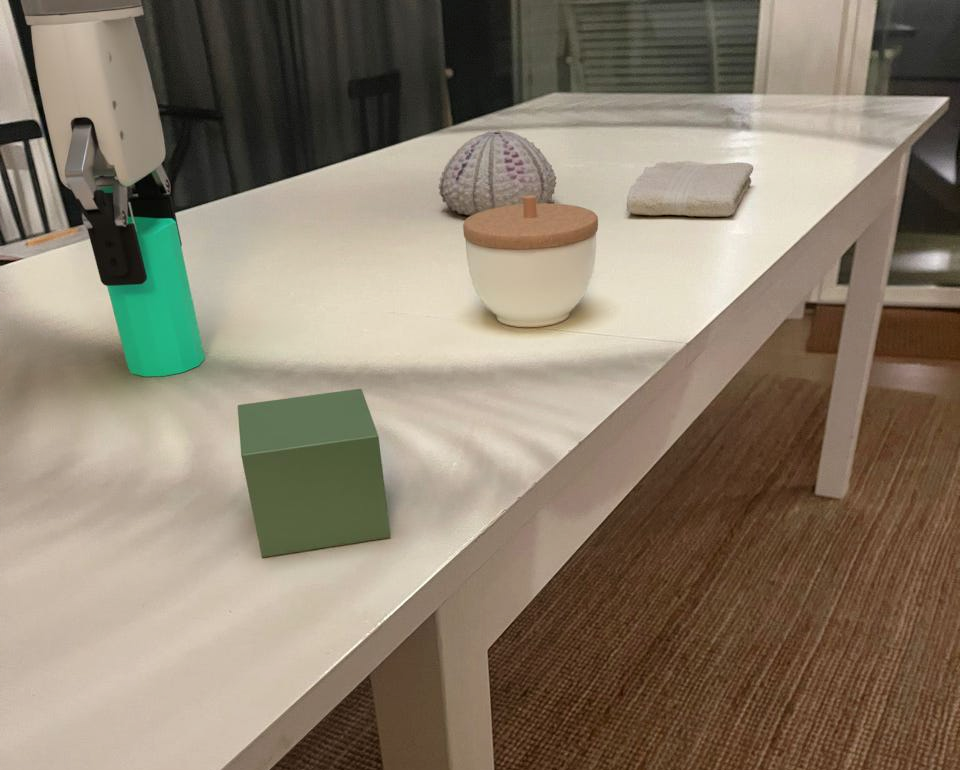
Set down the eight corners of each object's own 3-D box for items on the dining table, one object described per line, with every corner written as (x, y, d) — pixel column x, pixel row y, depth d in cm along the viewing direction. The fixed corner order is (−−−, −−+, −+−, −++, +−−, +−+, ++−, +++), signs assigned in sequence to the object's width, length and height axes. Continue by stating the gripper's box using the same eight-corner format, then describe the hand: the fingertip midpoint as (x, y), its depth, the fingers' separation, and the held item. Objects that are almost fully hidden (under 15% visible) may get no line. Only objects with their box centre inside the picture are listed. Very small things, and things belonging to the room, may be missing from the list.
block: (261, 558, 55) (240, 455, 52) (256, 500, 61) (237, 404, 58) (390, 538, 56) (378, 435, 53) (373, 483, 62) (361, 387, 59)
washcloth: (753, 184, 123) (755, 155, 121) (736, 221, 109) (739, 189, 107) (653, 183, 126) (654, 156, 124) (624, 219, 112) (625, 188, 110)
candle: (115, 364, 82) (73, 204, 76) (183, 344, 86) (149, 189, 79) (147, 382, 79) (106, 216, 72) (218, 361, 82) (185, 200, 75)
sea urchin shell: (560, 218, 114) (560, 138, 110) (438, 225, 114) (432, 146, 110) (553, 192, 125) (552, 119, 120) (441, 199, 125) (436, 126, 121)
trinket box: (443, 326, 86) (434, 206, 80) (512, 290, 93) (508, 178, 88) (555, 344, 81) (554, 217, 75) (619, 305, 88) (622, 187, 82)
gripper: (72, -10, 75) (132, 239, 85) (-35, 7, 61) (52, 304, 71) (173, -17, 75) (221, 235, 85) (89, -1, 61) (158, 299, 70)
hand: (144, 265), depth 78 cm, fingers open, 8 cm apart
